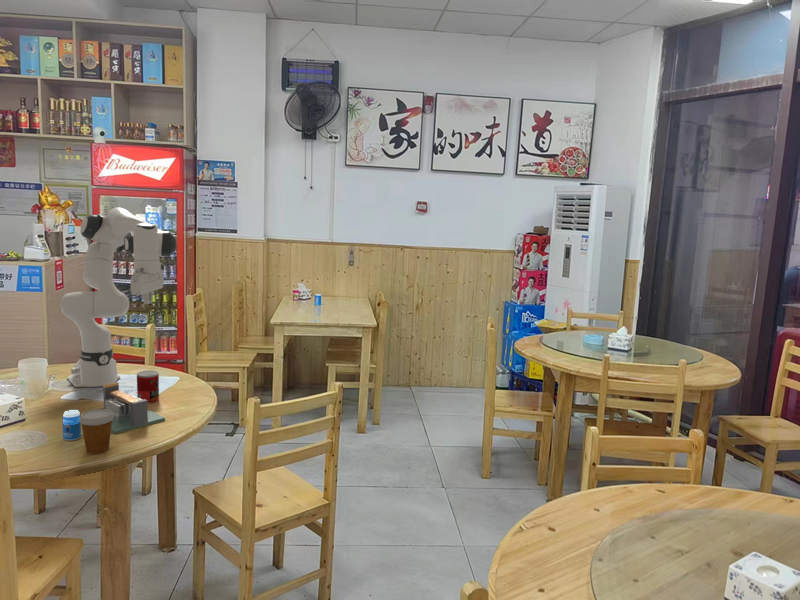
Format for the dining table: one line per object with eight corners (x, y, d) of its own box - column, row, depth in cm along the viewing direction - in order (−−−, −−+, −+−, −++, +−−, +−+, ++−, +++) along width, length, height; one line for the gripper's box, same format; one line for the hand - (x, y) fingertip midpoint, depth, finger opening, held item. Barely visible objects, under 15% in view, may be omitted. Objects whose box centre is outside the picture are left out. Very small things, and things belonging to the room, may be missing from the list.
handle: (109, 395, 214) (109, 391, 214) (117, 393, 216) (117, 389, 216) (133, 407, 204) (133, 403, 204) (141, 405, 206) (141, 401, 206)
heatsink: (104, 416, 210) (103, 399, 210) (131, 409, 218) (131, 393, 217) (118, 423, 204) (117, 406, 204) (145, 416, 212) (145, 400, 211)
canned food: (154, 403, 228) (153, 376, 226) (133, 402, 228) (132, 375, 226) (162, 397, 236) (161, 371, 234) (142, 396, 236) (142, 369, 234)
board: (82, 415, 212) (81, 387, 211) (130, 404, 226) (130, 377, 225) (115, 433, 198) (114, 403, 196) (165, 420, 212) (164, 391, 210)
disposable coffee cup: (111, 455, 181) (110, 418, 180) (77, 457, 179) (75, 420, 177) (117, 443, 190) (116, 407, 189) (84, 445, 188) (82, 409, 186)
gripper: (142, 270, 211) (143, 308, 213) (166, 265, 231) (167, 299, 233) (125, 269, 211) (126, 307, 213) (150, 264, 231) (151, 299, 233)
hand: (147, 303), depth 223 cm, fingers closed
